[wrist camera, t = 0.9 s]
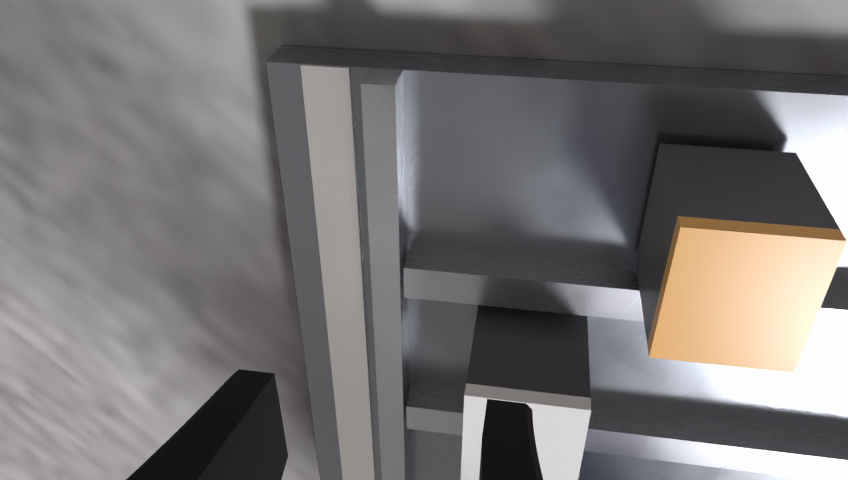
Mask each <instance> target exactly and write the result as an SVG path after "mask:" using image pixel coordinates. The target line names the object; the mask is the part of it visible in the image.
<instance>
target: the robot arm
mask: <svg viewBox="0 0 848 480" xmlns="http://www.w3.org/2000/svg"><path fill="white" fill-rule="evenodd" d="M287 457H288V453H287V447H286V441H285V435H284V428H283V422H282V416H281V410H280V404H279V398H278V392H277V386H276V380H275V374H274V373H265V372H257V371H248V370H240V369H239V370H238V371H237V372H235V373H234V374H233V375H232V376H231V377H230V378H229V379H228V380H227V381H226V382H225V383H224V384H223V385H222V386H221V387H220V388H219V389H218V390H217V391H216V392H215V393H214V394H213V396H212V397H211V398H210V399H209V400H208V401H207V402H206V403H205V404H204V405H203V406H202V407H201V408H200V409H199V410H198V411H197V412H196V413H195V414H194V415H193V416H192V417H191V418H190V419H189V420H188V421H187V422H186V423H185V424H184V425H183V426H182V427H181V428H180V429H179V430H178V431H177V432H176V433H175V434H174V435H173V436H172V437H171V438H170V439H169V440H168V441H167V442H166V443H164V444H163V445H162V446H161V447H160V448H159V449H158V450H157V451H156V452H155V453H154V454H153V455H152V456H151V457H150V458H149V459H148V460H147V461H146V462H145V463H144V464H143V465H141V466H140V467H139V468H138V469H137V470H136V471H135V472H134V473H133V474H132V475H131V476H130V477H129V478H127V479H126V480H281V479H282V475H283V471H284V468H285V464H286V461H287ZM479 480H543V477H542V472H541V468H540V463H539V459H538V453H537V448H536V442H535V436H534V427H533V414H532V409H531V408H530V407H529V406H528V405H527V404H526V403H518V402H510V401H501V400H493V399H487V404H486V411H485V418H484V426H483V433H482V444H481V459H480V474H479Z"/></svg>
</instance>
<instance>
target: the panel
mask: <svg viewBox="0 0 848 480" xmlns="http://www.w3.org/2000/svg"><path fill="white" fill-rule="evenodd" d="M266 66H267V74H268V82H269V89H270V97H271V105H272V112H273V120H274V128H275V135H276V143H277V151H278V159H279V166H280V174H281V182H282V189H283V197H284V205H285V212H286V220H287V228H288V235H289V243H290V251H291V258H292V266H293V274H294V281H295V289H296V297H297V304H298V312H299V320H300V328H301V335H302V343H303V351H304V358H305V366H306V374H307V381H308V389H309V397H310V404H311V412H312V420H313V427H314V435H315V443H316V450H317V458H318V466H319V473H320V480H461V457H462V434H463V411H464V393H465V387H466V380H467V374H468V368H469V361H470V355H471V348H472V342H473V335H474V329H475V322H476V316H477V309H478V305H484V306H494V307H504V308H513V309H523V310H533V311H543V312H553V313H563V314H573V315H582V316H587V321H588V345H589V368H590V392H591V414H590V420H589V425H588V430H587V436H586V441H585V446H584V451H583V457H582V462H581V467H580V472H579V478H578V480H848V77H846V76H828V75H810V74H792V73H774V72H755V71H737V70H719V69H701V68H683V67H665V66H647V65H629V64H610V63H592V62H574V61H556V60H538V59H520V58H502V57H484V56H465V55H447V54H429V53H411V52H393V51H375V50H357V49H339V48H320V47H302V46H284V45H282V46H281V47H280V48H279V49H278V50H277V51H276V52H275V53H274V54H273V55H272V56H271V57H270V58H269V59H268V60H267V61H266ZM660 143H662V144H677V145H691V146H706V147H720V148H735V149H749V150H764V151H778V152H793V153H796V154H797V155H798V157H799V159H800V161H801V162H802V164H803V166H804V167H805V169H806V171H807V173H808V174H809V176H810V178H811V179H812V181H813V183H814V185H815V186H816V188H817V190H818V192H819V193H820V195H821V197H822V198H823V200H824V202H825V204H826V205H827V207H828V209H829V210H830V212H831V214H832V216H833V217H834V219H835V221H836V222H837V224H838V226H839V228H840V229H841V231H842V233H843V235H844V236H845V238H846V240H847V243H846V246H845V248H844V251H843V253H842V256H841V258H840V261H839V263H838V266H837V268H836V271H835V273H834V275H833V278H832V280H831V283H830V285H829V288H828V290H827V293H826V295H825V298H824V300H823V303H822V305H821V308H820V310H819V313H818V315H817V318H816V320H815V323H814V325H813V327H812V330H811V332H810V335H809V337H808V340H807V342H806V345H805V347H804V350H803V352H802V355H801V357H800V360H799V362H798V365H797V367H796V370H795V372H794V373H789V372H780V371H771V370H761V369H752V368H743V367H734V366H724V365H715V364H706V363H696V362H687V361H678V360H669V359H659V358H650V357H649V354H648V347H647V340H646V333H645V325H644V318H643V311H642V304H641V297H640V290H639V283H638V276H637V269H636V262H635V261H636V257H637V252H638V247H639V242H640V237H641V232H642V227H643V222H644V218H645V213H646V208H647V203H648V198H649V193H650V188H651V183H652V179H653V174H654V169H655V164H656V159H657V154H658V149H659V145H660Z"/></svg>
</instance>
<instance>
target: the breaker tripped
mask: <svg viewBox="0 0 848 480" xmlns="http://www.w3.org/2000/svg"><path fill="white" fill-rule="evenodd" d="M846 243H847V240H846V238H845V236H844V235H843V233H842V231H841V229H840V228H839V226H838V224H837V222H836V221H835V219H834V217H833V216H832V214H831V212H830V210H829V209H828V207H827V205H826V204H825V202H824V200H823V198H822V197H821V195H820V193H819V192H818V190H817V188H816V186H815V185H814V183H813V181H812V179H811V178H810V176H809V174H808V173H807V171H806V169H805V167H804V166H803V164H802V162H801V161H800V159H799V157H798V155H797V154H796V153H793V152H778V151H764V150H749V149H735V148H720V147H706V146H691V145H677V144H662V143H660V145H659V149H658V154H657V159H656V164H655V169H654V174H653V179H652V183H651V188H650V193H649V198H648V203H647V208H646V213H645V218H644V222H643V227H642V232H641V237H640V242H639V247H638V252H637V257H636V261H635V262H636V269H637V276H638V283H639V290H640V297H641V304H642V311H643V318H644V325H645V333H646V340H647V347H648V354H649V357H650V358H659V359H669V360H678V361H687V362H696V363H706V364H715V365H724V366H734V367H743V368H752V369H761V370H771V371H780V372H789V373H794V372H795V370H796V367H797V365H798V362H799V360H800V357H801V355H802V352H803V350H804V347H805V345H806V342H807V340H808V337H809V335H810V332H811V330H812V327H813V325H814V323H815V320H816V318H817V315H818V313H819V310H820V308H821V305H822V303H823V300H824V298H825V295H826V293H827V290H828V288H829V285H830V283H831V280H832V278H833V275H834V273H835V271H836V268H837V266H838V263H839V261H840V258H841V256H842V253H843V251H844V248H845V246H846Z"/></svg>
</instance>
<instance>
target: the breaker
mask: <svg viewBox="0 0 848 480" xmlns="http://www.w3.org/2000/svg"><path fill="white" fill-rule="evenodd" d="M487 399H493V400H501V401H510V402H518V403H526V404H527V405H528V406H529V407H530V408H531V409H532V414H533V427H534V436H535V442H536V448H537V453H538V459H539V463H540V468H541V472H542V477H543V480H578V478H579V472H580V467H581V462H582V457H583V451H584V446H585V441H586V436H587V430H588V425H589V420H590V414H591V392H590V368H589V345H588V321H587V316H582V315H573V314H563V313H553V312H543V311H533V310H523V309H513V308H504V307H494V306H484V305H478V309H477V316H476V322H475V329H474V335H473V342H472V348H471V355H470V361H469V368H468V374H467V380H466V387H465V393H464V411H463V434H462V457H461V480H479V474H480V459H481V444H482V433H483V426H484V418H485V411H486V404H487Z"/></svg>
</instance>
